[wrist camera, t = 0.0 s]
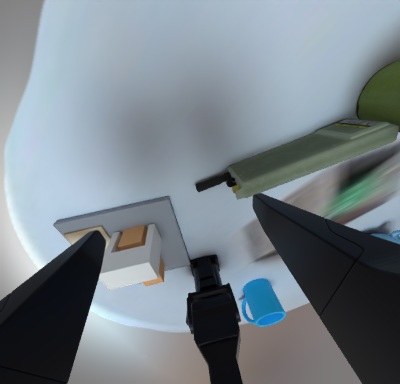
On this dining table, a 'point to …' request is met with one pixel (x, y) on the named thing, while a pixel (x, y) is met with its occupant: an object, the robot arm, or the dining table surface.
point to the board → (133, 217)
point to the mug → (262, 303)
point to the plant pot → (382, 96)
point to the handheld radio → (304, 156)
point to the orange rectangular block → (136, 239)
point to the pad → (78, 234)
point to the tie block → (131, 261)
